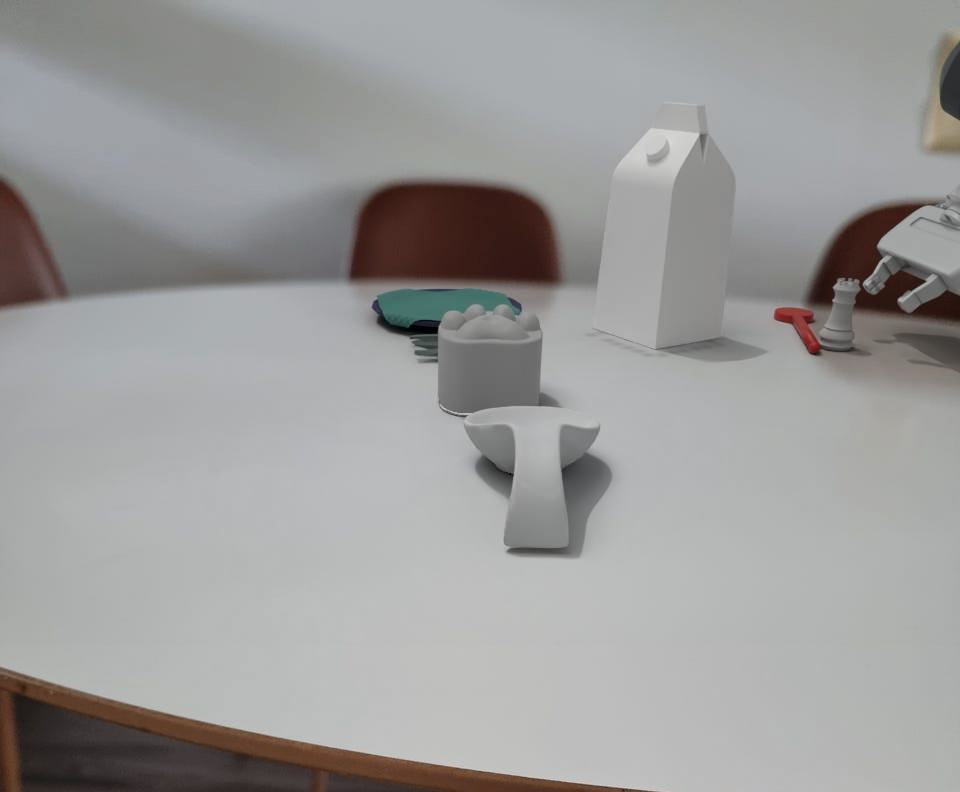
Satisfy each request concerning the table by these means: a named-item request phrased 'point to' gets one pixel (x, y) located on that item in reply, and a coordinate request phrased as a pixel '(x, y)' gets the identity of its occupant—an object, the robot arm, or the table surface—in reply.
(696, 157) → the milk
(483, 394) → the lumpy-topped squat cylinder
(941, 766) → the table surface
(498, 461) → the spoon rest
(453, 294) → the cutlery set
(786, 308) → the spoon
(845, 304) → the rook chess piece
